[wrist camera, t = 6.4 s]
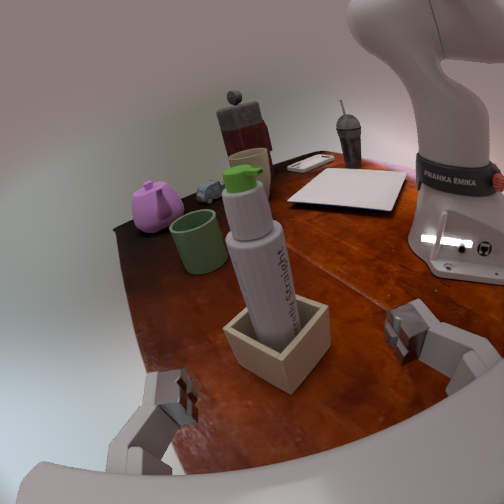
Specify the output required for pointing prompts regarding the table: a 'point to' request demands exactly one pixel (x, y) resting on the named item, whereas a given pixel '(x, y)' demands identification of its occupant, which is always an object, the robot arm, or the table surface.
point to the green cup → (199, 241)
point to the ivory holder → (295, 354)
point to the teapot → (156, 206)
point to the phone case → (310, 163)
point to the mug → (254, 164)
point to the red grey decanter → (243, 127)
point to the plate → (352, 189)
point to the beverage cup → (350, 139)
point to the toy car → (210, 191)
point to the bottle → (260, 258)
